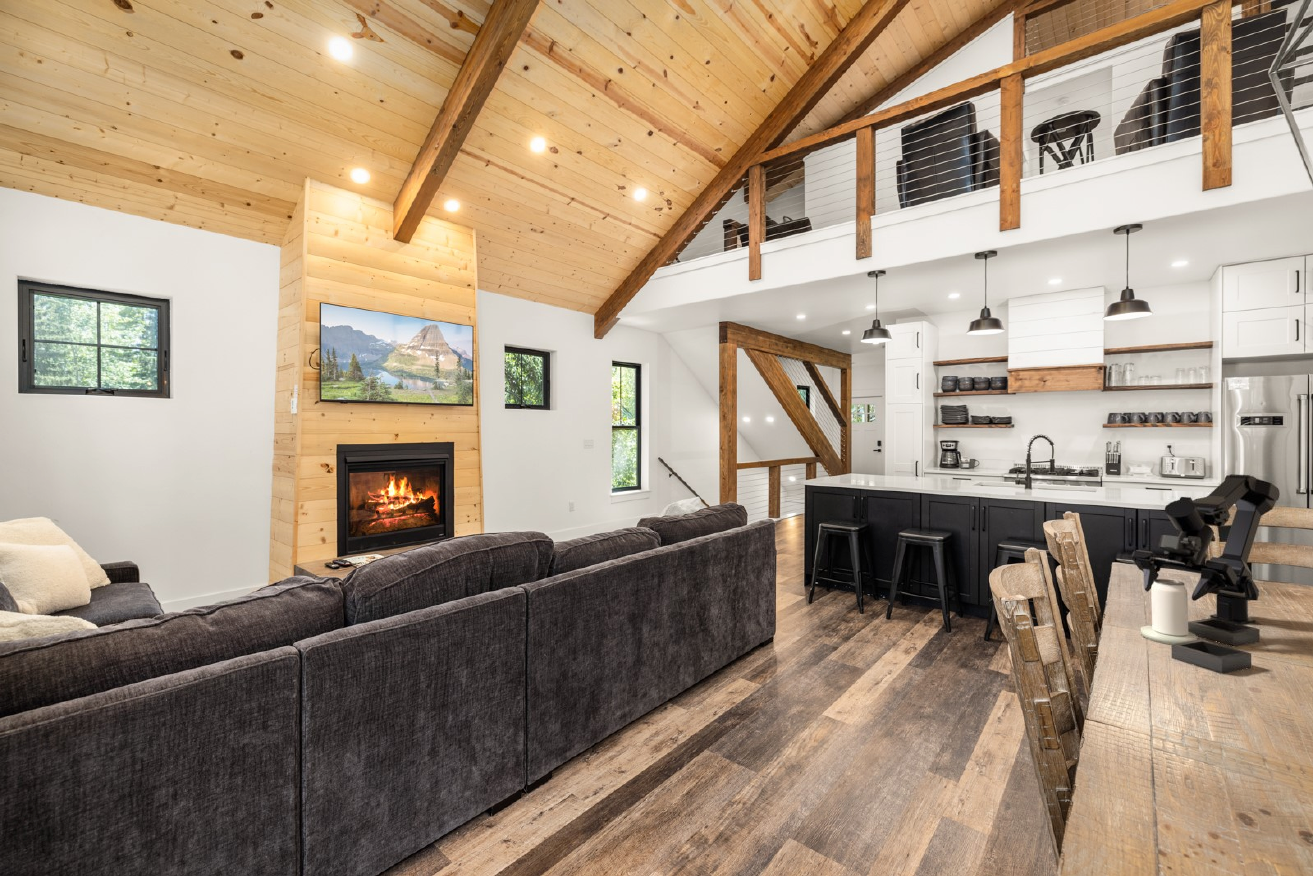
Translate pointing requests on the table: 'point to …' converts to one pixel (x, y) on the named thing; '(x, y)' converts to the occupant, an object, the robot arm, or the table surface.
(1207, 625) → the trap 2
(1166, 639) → the pad
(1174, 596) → the can
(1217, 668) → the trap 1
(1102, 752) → the table surface
